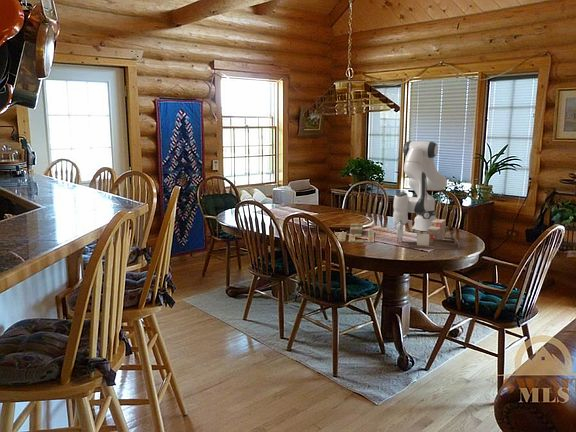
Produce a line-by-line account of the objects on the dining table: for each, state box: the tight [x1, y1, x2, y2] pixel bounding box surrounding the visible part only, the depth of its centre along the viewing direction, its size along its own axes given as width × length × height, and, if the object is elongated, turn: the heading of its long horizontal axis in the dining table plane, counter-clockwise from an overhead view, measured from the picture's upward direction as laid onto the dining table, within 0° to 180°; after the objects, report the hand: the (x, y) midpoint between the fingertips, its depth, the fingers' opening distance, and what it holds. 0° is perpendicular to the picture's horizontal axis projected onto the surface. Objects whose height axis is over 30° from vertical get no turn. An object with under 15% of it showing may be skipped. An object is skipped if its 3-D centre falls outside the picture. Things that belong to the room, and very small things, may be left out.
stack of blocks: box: [426, 218, 447, 243], centre depth 318 cm, size 21×6×12 cm, turn 149°
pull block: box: [396, 233, 429, 246], centre depth 305 cm, size 6×19×6 cm, turn 78°
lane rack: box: [407, 237, 459, 251], centre depth 303 cm, size 12×28×5 cm, turn 78°
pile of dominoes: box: [334, 223, 375, 244], centre depth 333 cm, size 35×27×6 cm
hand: (399, 241), depth 307 cm, fingers closed on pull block, 2 cm apart
